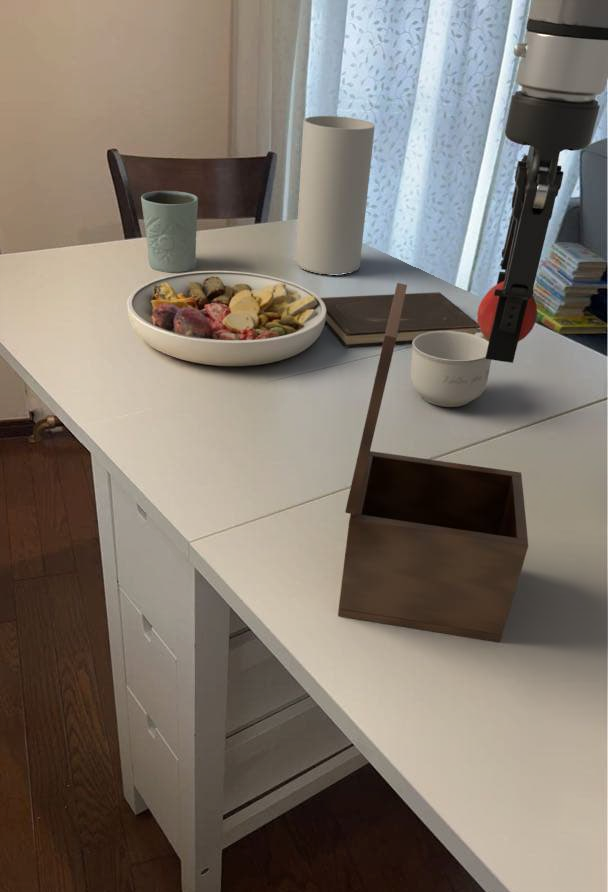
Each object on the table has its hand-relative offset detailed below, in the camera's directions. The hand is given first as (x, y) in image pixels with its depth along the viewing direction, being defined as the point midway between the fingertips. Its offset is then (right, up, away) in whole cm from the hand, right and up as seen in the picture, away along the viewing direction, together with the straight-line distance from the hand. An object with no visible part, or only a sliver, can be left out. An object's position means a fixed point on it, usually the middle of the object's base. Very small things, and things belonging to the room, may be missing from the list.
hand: (499, 346), depth 83 cm
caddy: (-9, -25, -6) cm, 27 cm away
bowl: (-32, +12, +42) cm, 54 cm away
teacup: (0, 0, +30) cm, 30 cm away
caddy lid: (-14, -8, -16) cm, 23 cm away
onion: (0, 0, 0) cm, 0 cm away
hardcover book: (-5, +16, +50) cm, 52 cm away
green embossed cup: (-45, +31, +67) cm, 86 cm away
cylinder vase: (-16, +33, +72) cm, 81 cm away
